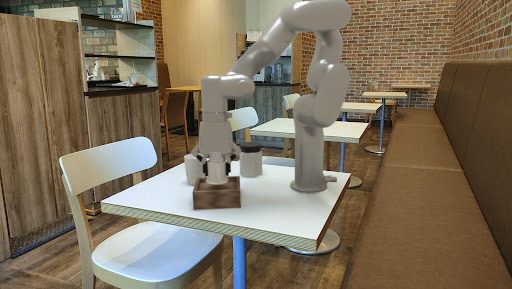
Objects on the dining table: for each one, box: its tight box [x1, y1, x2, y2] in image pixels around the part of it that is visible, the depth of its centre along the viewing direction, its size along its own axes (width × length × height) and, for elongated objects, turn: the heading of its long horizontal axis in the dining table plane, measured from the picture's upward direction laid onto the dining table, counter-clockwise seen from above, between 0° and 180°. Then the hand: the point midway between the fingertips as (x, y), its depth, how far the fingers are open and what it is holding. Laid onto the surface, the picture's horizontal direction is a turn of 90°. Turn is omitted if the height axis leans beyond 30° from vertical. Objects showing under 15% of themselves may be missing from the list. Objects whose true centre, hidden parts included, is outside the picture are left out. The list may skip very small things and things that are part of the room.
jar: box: [238, 141, 263, 179], centre depth 138 cm, size 9×8×12 cm
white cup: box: [183, 152, 208, 187], centre depth 129 cm, size 8×8×10 cm
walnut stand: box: [191, 175, 242, 211], centre depth 112 cm, size 14×14×6 cm
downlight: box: [206, 152, 228, 185], centre depth 110 cm, size 8×7×10 cm
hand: (217, 174), depth 111 cm, fingers closed on downlight, 5 cm apart
